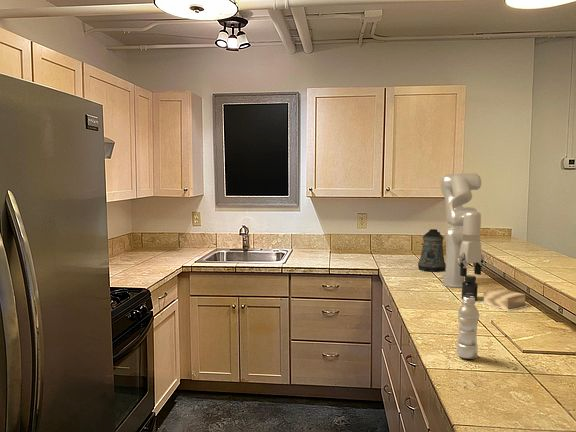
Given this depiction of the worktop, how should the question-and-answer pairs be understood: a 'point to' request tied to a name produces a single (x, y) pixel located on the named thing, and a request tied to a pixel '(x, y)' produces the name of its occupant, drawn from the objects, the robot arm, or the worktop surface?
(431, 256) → the dark grey bell
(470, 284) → the supplement bottle
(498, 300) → the oak plinth
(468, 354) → the plastic bottle
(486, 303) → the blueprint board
